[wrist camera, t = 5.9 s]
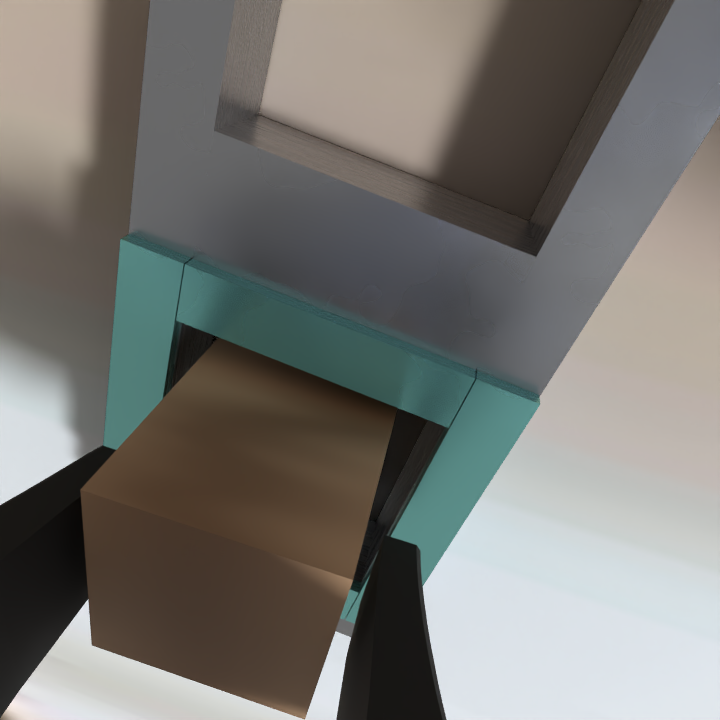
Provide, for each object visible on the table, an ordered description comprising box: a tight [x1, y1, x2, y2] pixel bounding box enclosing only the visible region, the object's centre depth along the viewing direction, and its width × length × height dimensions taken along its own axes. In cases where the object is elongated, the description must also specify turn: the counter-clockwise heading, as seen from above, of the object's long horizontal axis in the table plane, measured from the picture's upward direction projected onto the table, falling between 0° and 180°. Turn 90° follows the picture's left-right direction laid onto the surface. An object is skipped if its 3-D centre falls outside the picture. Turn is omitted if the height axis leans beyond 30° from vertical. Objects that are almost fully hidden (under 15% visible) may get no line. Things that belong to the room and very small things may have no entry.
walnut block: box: [80, 338, 398, 719], centre depth 11 cm, size 4×4×6 cm
